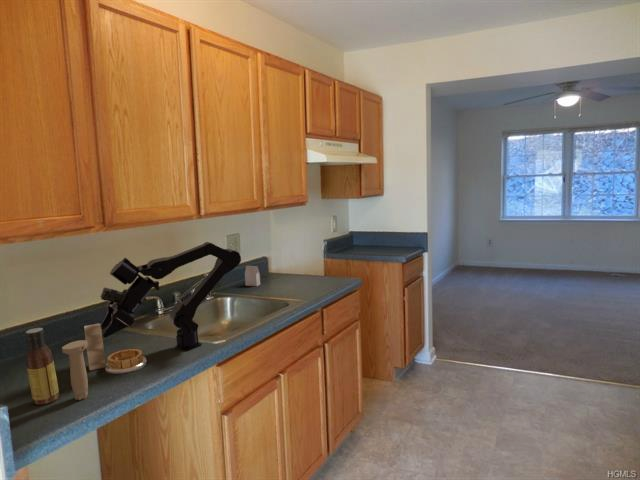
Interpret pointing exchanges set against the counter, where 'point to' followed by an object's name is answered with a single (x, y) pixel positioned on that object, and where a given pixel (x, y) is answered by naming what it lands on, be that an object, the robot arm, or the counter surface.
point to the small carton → (252, 276)
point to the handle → (77, 368)
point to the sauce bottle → (40, 368)
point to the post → (95, 346)
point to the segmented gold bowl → (125, 361)
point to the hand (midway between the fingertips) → (102, 332)
